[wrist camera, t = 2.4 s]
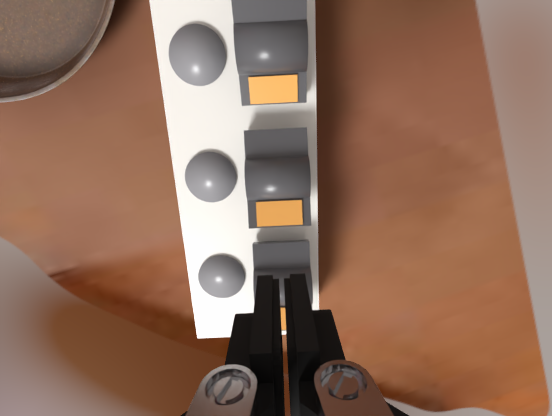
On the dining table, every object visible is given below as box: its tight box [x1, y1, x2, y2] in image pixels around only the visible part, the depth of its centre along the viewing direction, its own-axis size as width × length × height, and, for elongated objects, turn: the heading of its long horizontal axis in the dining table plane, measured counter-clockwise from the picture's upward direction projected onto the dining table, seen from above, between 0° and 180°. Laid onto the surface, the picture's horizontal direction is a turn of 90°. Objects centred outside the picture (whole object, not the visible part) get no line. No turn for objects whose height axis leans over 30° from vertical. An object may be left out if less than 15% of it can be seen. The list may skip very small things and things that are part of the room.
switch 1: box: [231, 0, 308, 106], centre depth 17 cm, size 6×4×3 cm, turn 3°
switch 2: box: [252, 239, 313, 331], centre depth 21 cm, size 6×4×3 cm, turn 3°
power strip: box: [150, 0, 319, 338], centre depth 21 cm, size 32×9×4 cm, turn 3°
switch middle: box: [244, 127, 311, 229], centre depth 19 cm, size 6×4×3 cm, turn 3°
